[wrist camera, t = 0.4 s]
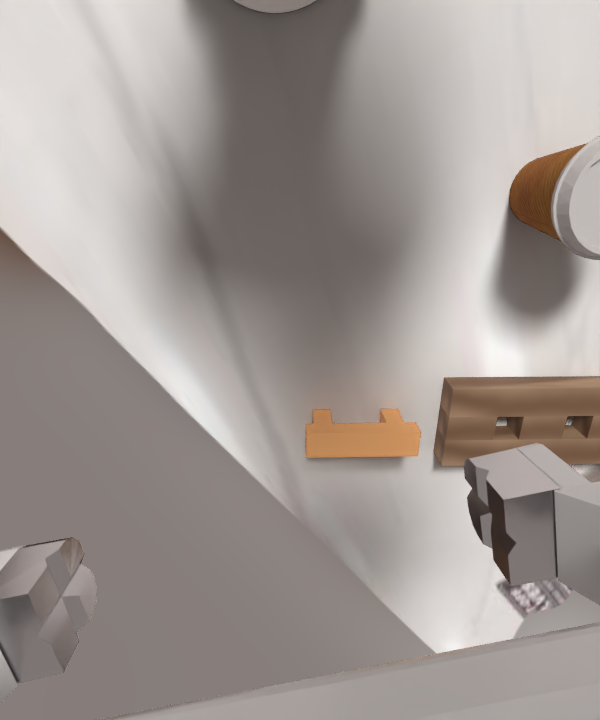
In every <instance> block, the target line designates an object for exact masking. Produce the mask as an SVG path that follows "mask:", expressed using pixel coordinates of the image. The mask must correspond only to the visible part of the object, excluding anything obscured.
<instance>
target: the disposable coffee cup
mask: <svg viewBox="0 0 600 720" xmlns="http://www.w3.org/2000/svg"><path fill="white" fill-rule="evenodd" d="M510 205H511V209H512V211H513V213H514V214H515V216H516V217H517V218H518V219H519V220H521V221H522V222H524V223H526V224H528V225H530V226H532V227H534V228H536V229H538V230H540V231H542V232H544V233H546V234H548V235H550V236H552V237H554V238H556V239H558V240H560V241H562V243H563V244H564V245H565V246H566V247H567V248H568V249H569V250H571V251H572V252H573V253H575V254H577V255H579V256H582V257H584V258H588V259H593V260H600V136H598V137H596V138H595V139H593V140H592V141H591V142H589V143H587V144H583V145H580V146H577V147H574V148H570V149H567V150H564V151H560V152H557V153H554V154H551V155H548V156H544V157H541V158H537V159H535V160H533V161H531V162H529V163H528V164H527V165H525V166H524V167H523V168H522V169H521V170H520V171H519V173H518V174H517V176H516V177H515V179H514V181H513V183H512V186H511V189H510Z"/></svg>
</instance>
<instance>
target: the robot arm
mask: <svg viewBox="0 0 600 720" xmlns="http://www.w3.org/2000/svg"><path fill="white" fill-rule="evenodd" d="M234 1H236V2H237V3H239V4H241V5H243V6H245V7H248V8H250V9H253V10H257V11H261V12H267V13H283V12H290V11H294V10H297V9H300V8H303V7H305V6H307V5H309V4H311V3H313V2H314V1H316V0H234ZM464 473H465V479H466V480H467V482H468V483H469V484H470V486H471V487H472V490H471V491H470V493H469V495H468V497H467V500H468V508H469V513H470V517H471V520H472V523H473V526H474V528H475V531H476V533H477V535H478V536H479V538H480V540H481V541H482V543H483V544H484V545H486V546H488V547H490V548H492V549H493V559H494V561H495V563H496V564H497V566H498V567H499V569H500V570H501V572H502V573H503V575H504V576H505V578H506V579H507V581H508V582H509V584H510V585H511V586H514V585H520V584H526V583H532V582H538V581H544V580H550V579H556V578H558V581H560V582H562V583H563V584H565V585H567V586H568V587H570V588H572V589H573V590H575V591H577V592H578V593H580V594H582V595H583V596H585V597H587V598H589V599H590V600H592V601H593V602H595V603H597V604H598V605H600V482H594V483H591V482H589V481H588V480H587V479H586V478H584V477H583V476H582V475H581V474H579V473H578V472H577V471H576V470H574V469H573V468H572V467H571V466H569V465H568V464H567V463H565V462H564V461H563V460H562V459H560V458H559V457H558V456H557V455H555V454H554V453H553V452H552V451H550V450H549V449H548V448H547V447H545V446H544V445H543V444H539V443H535V444H531V445H526V446H522V447H518V448H514V449H510V450H505V451H501V452H497V453H492V454H488V455H483V456H479V457H474V458H470V459H466V460H465V462H464ZM84 554H85V553H84V551H83V549H82V547H81V544H80V542H79V540H77V539H75V538H73V537H70V538H65V539H59V540H53V541H47V542H42V543H36V544H31V545H26V546H19V547H14V548H9V549H5V550H2V551H0V704H1V703H2V702H3V701H4V700H5V699H6V698H7V697H8V696H9V695H10V694H11V693H12V692H13V691H14V690H15V689H16V688H17V686H18V683H22V682H26V681H31V680H35V679H40V678H44V677H49V676H53V675H57V674H62V673H64V671H65V669H66V667H67V665H68V663H69V661H70V659H71V657H72V655H73V653H74V651H75V649H76V647H77V645H78V643H79V638H78V635H77V632H78V631H79V630H80V629H81V628H82V627H84V625H86V624H87V623H88V622H89V621H90V619H91V616H92V614H93V612H94V610H95V606H96V599H97V588H96V581H95V579H94V576H93V573H92V571H90V570H89V569H88V568H86V567H85V566H83V565H82V564H81V563H82V560H83V557H84ZM96 720H600V622H598V623H593V624H588V625H583V626H578V627H573V628H568V629H563V630H557V631H552V632H547V633H542V634H536V635H531V636H526V637H521V638H516V639H511V640H505V641H500V642H495V643H490V644H485V645H479V646H474V647H469V648H464V649H459V650H453V651H448V652H443V653H438V654H433V655H428V656H422V657H417V658H412V659H407V660H401V661H397V662H391V663H386V664H381V665H376V666H370V667H365V668H360V669H355V670H350V671H344V672H339V673H334V674H329V675H324V676H319V677H313V678H309V679H303V680H298V681H293V682H288V683H282V684H278V685H272V686H267V687H262V688H257V689H252V690H247V691H242V692H237V693H232V694H226V695H221V696H216V697H211V698H205V699H200V700H196V701H190V702H185V703H180V704H174V705H170V706H164V707H159V708H154V709H148V710H143V711H138V712H133V713H128V714H123V715H118V716H112V717H107V718H102V719H96Z"/></svg>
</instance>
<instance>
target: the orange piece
mask: <svg viewBox="0 0 600 720" xmlns="http://www.w3.org/2000/svg"><path fill="white" fill-rule="evenodd" d="M420 437H421V431H420V429H419V427H418V425H417V424H416V422H405V423H404V421H403V419H402V417H401V415H400V412H399V410H398V409H381V413H380V423H332V418H331V413H330V410H313V421H312V424H306V458H326V457H398V456H418V452H419V445H420Z"/></svg>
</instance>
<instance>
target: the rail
mask: <svg viewBox="0 0 600 720" xmlns="http://www.w3.org/2000/svg"><path fill="white" fill-rule="evenodd" d="M568 416H574V418H573V422H572V425H565V424H566V421H567V417H568ZM498 417H509V418H508V423H507V426H496V423H497V418H498ZM535 443H539V444H543V445H544V446H545V447H547V448H548V449H549V450H550V451H552V452H553V453H554V454H555V455H557V456H558V457H559V458H560V459H562V460H563V461H564V462H565V463H567V464H600V376H587V377H457V378H444V383H443V390H442V397H441V404H440V411H439V418H438V425H437V432H436V439H435V446H434V453H435V455H436V457H437V459H438V461H439V462H440V464H441V466H464V462H465V460H466V459H470V458H474V457H479V456H483V455H488V454H492V453H497V452H501V451H505V450H510V449H514V448H518V447H522V446H526V445H531V444H535Z"/></svg>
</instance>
